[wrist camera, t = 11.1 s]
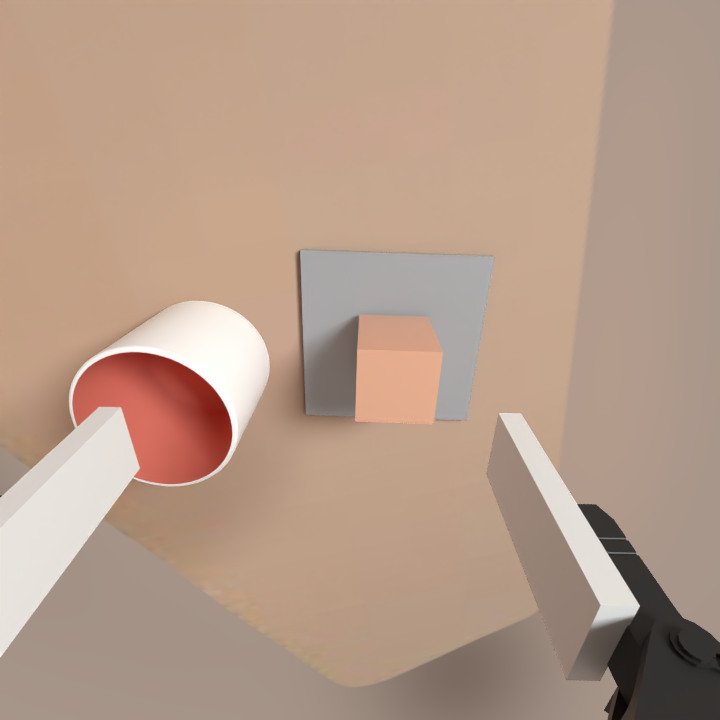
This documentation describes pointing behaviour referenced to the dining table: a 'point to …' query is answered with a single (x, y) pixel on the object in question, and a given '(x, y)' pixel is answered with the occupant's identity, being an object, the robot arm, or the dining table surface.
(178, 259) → the dining table surface
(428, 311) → the grey square plate
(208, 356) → the cup
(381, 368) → the peach toy cube
